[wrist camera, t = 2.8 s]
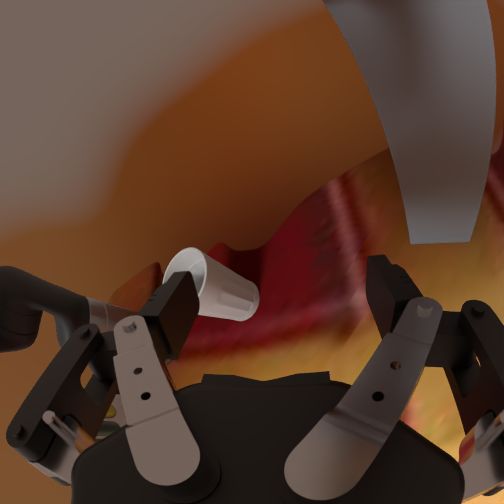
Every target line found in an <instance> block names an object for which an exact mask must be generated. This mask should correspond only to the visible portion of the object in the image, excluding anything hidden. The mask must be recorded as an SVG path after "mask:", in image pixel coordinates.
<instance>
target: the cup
mask: <svg viewBox="0 0 504 504" xmlns="http://www.w3.org/2000/svg"><path fill="white" fill-rule="evenodd" d="M180 271H190V272H191V273H192V276H193V279H194V283H195V286H196V290H197V293H198V297H199V301H200V309H199V313H198V315H205V316H212V317H219V318H226V319H233V320H237V321H243V320H246V319H248V318H250V317H251V316H252V315H253V314H254V313H255V311H256V309H257V307H258V304H259V291H258V288H257V287H256V285H255V284H254V283H253V282H251V281H249V280H246V279H245V278H243V277H241V276H240V275H238V274H236V273H235V272H233V271H232V270H230V269H228V268H227V267H225V266H223V265H222V264H220V263H219V262H217V261H215V260H214V259H212V258H211V257H209V256H208V255H206V254H204V253H203V252H201V251H200V250H198V249H196V248H186V249H184V250H182V251H180V252H179V253H178V254H176V255H175V256H174V258H173V259H172V260H171V262H170V263H169V265H168V267H167V269H166V271H165V274H164V278H163V284H164V283H165V282H167V280H168V279H169V278H170V276H171V275H172V274H173V273H174V272H180Z"/></svg>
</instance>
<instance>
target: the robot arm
mask: <svg viewBox="0 0 504 504" xmlns="http://www.w3.org/2000/svg"><path fill="white" fill-rule="evenodd" d="M366 297H367V301H368V304H369V306H370V309H371V311H372V314H373V316H374V319H375V322H376V324H377V327H378V330H379V332H380V335H381V338H382V341H381V343H380V344H379V346H378V348H377V349H376V351H375V352H374V354H373V355H372V357H371V358H370V360H369V362H368V363H367V365H366V366H365V368H364V369H363V370H362V372H361V373H360V375H359V376H358V378H357V379H356V381H355V382H354V383H353V385H349V384H346V383H343V382H338V381H332V380H330V374H329V371H326V372H314V373H300V374H294V375H290V376H286V377H282V378H277V379H273V380H268V381H259V380H254V379H249V378H244V377H240V376H235V375H215V374H204V375H203V378H202V381H201V383H197V384H193V385H189V386H186V387H184V388H181V389H179V390H177V389H176V387H175V384H174V382H173V380H172V378H171V376H170V374H169V371H168V369H167V367H166V364H168V363H169V362H170V361H171V360H177V359H178V356H179V354H180V352H181V350H182V348H183V345H184V343H185V341H186V339H187V337H188V334H189V332H190V330H191V328H192V326H193V323H194V321H195V319H196V317H197V315H198V313H199V309H200V301H199V297H198V293H197V290H196V286H195V283H194V279H193V276H192V273H191V272H190V271H180V272H174V273H173V274H172V275H171V276H170V278H169V279H168V280H167V282H165V283H164V284H162V285H161V286H159V287H158V288H157V289H156V290H155V292H154V293H153V294H152V296H151V297H150V298H149V301H147V302H146V304H145V305H144V306H143V308H142V309H141V310H140V312H136V311H132V310H129V309H125V308H122V307H118V306H115V305H111V304H108V303H104V302H101V301H98V300H94V299H91V298H88V297H85V296H81V295H79V294H76V293H74V292H71V291H69V290H67V289H65V288H62V287H59V286H57V285H54V284H52V283H49V282H47V281H45V280H42V279H40V278H38V277H36V276H34V275H32V274H30V273H27V272H25V271H23V270H20V269H18V268H15V267H11V266H1V267H0V353H2V352H11V351H18V350H22V349H25V348H28V347H30V346H31V345H32V344H33V343H34V342H35V339H36V337H37V334H38V330H39V325H40V321H41V317H42V313H43V311H46V312H48V313H50V314H52V315H53V316H54V318H55V322H56V332H57V339H58V342H59V345H60V347H61V350H60V351H59V352H58V353H57V355H56V356H55V358H54V359H53V360H52V362H51V363H50V364H49V366H48V367H47V368H46V370H45V371H44V373H43V374H42V376H41V377H40V378H39V380H38V381H37V383H36V384H35V386H34V387H33V389H32V390H31V391H30V393H29V395H28V396H27V397H26V399H25V400H24V402H23V404H22V405H21V407H20V408H19V410H18V411H17V413H16V415H15V416H14V418H13V420H12V421H11V423H10V425H9V426H8V429H7V432H6V439H7V442H8V444H9V445H10V446H12V447H13V448H14V449H15V450H16V451H17V452H18V453H20V454H21V455H22V456H23V457H24V458H25V459H26V460H27V461H28V462H29V463H31V464H32V465H33V466H34V467H36V468H37V469H38V470H40V471H41V472H43V473H44V474H45V475H47V476H50V477H51V478H53V479H54V480H55V481H57V482H59V483H60V484H62V485H65V486H70V485H71V488H72V498H71V504H461V503H464V502H466V501H469V500H471V499H473V498H475V497H478V496H480V495H484V496H491V495H494V494H496V493H497V492H499V491H501V490H502V489H504V325H503V324H502V323H501V321H500V320H499V318H498V317H497V315H496V314H495V313H494V311H493V310H492V309H491V307H490V306H489V305H487V304H486V303H484V302H482V301H479V300H469V301H466V302H465V303H464V304H463V306H462V309H461V312H450V311H443V309H442V306H441V305H440V304H439V303H438V302H437V301H435V300H434V299H431V298H427V297H423V295H422V294H421V292H420V291H419V289H418V288H417V286H416V285H415V283H414V282H413V281H412V279H411V278H410V277H409V275H408V274H407V272H406V271H405V269H403V268H402V267H400V266H398V265H397V264H393V265H392V264H391V263H390V261H389V260H388V259H387V257H386V256H385V255H374V256H368V259H367V275H366ZM476 357H477V358H478V360H479V362H480V365H479V363H478V361H477V359H476ZM87 365H88V366H89V368H90V369H91V371H92V372H93V375H92V377H91V379H90V380H89V382H88V384H87V386H86V387H85V389H84V388H83V387H82V385H81V383H80V377H81V374H82V373H83V371H84V369H85V368H86V366H87ZM480 366H481V367H480ZM424 367H443V368H444V371H445V374H446V376H447V379H448V382H449V384H450V387H451V390H452V393H453V396H454V399H455V402H456V405H457V408H458V411H459V414H460V418H461V421H462V424H463V428H464V432H465V435H466V436H465V437H464V438H463V440H462V442H461V444H460V447H459V462H457V461H456V460H455V459H454V458H453V457H452V456H451V455H449V454H448V453H446V452H445V451H443V450H442V449H440V448H439V447H438V446H436V445H435V444H433V443H432V442H430V441H429V440H428V439H426V438H425V437H423V436H422V435H421V434H419V433H418V432H416V431H415V430H414V429H412V428H411V427H410V426H408V425H407V424H405V423H404V422H403V421H401V420H400V419H401V417H402V415H403V413H404V411H405V409H406V407H407V405H408V403H409V401H410V399H411V397H412V395H413V393H414V391H415V388H416V386H417V384H418V382H419V379H420V377H421V375H422V372H423V370H424ZM118 390H119V392H120V396H121V401H122V405H123V409H124V413H125V417H126V421H127V424H126V425H124V426H122V427H121V428H119V429H118V430H116V431H114V432H113V433H111V434H110V435H108V436H106V437H105V438H103V439H101V440H100V441H98V442H96V443H95V444H94V441H95V438H96V436H97V434H98V432H99V430H100V427H101V425H102V423H103V421H104V419H105V417H106V414H107V412H108V410H109V408H110V406H111V404H112V402H113V400H114V398H115V396H116V394H117V392H118Z"/></svg>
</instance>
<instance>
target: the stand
mask: <svg viewBox="0 0 504 504" xmlns="http://www.w3.org/2000/svg"><path fill="white" fill-rule="evenodd" d="M323 1H324V3H325V5H326V7H327V8H328V10H329V11H330V13H331V15H332V16H333V18H334V20H335V22H336V23H337V25H338V27H339V29H340V30H341V32H342V34H343V36H344V38H345V40H346V42H347V44H348V45H349V47H350V50H351V52H352V53H353V56H354V58H355V60H356V62H357V64H358V66H359V68H360V70H361V73H362V75H363V77H364V80H365V82H366V84H367V87H368V89H369V92H370V94H371V97H372V99H373V102H374V104H375V107H376V110H377V112H378V115H379V118H380V121H381V124H382V127H383V130H384V133H385V136H386V139H387V142H388V145H389V149H390V152H391V155H392V159H393V162H394V166H395V170H396V174H397V178H398V182H399V186H400V190H401V195H402V199H403V204H404V209H405V214H406V219H407V225H408V230H409V236H410V243H411V244H426V243H453V242H470V239H471V236H472V233H473V229H474V226H475V223H476V220H477V216H478V213H479V209H480V205H481V201H482V197H483V193H484V189H485V184H486V179H487V174H488V169H489V163H490V157H491V150H492V143H493V135H494V123H495V110H496V109H495V108H496V66H495V52H494V43H493V34H492V27H491V21H490V15H489V11H488V6H487V1H486V0H323Z"/></svg>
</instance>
